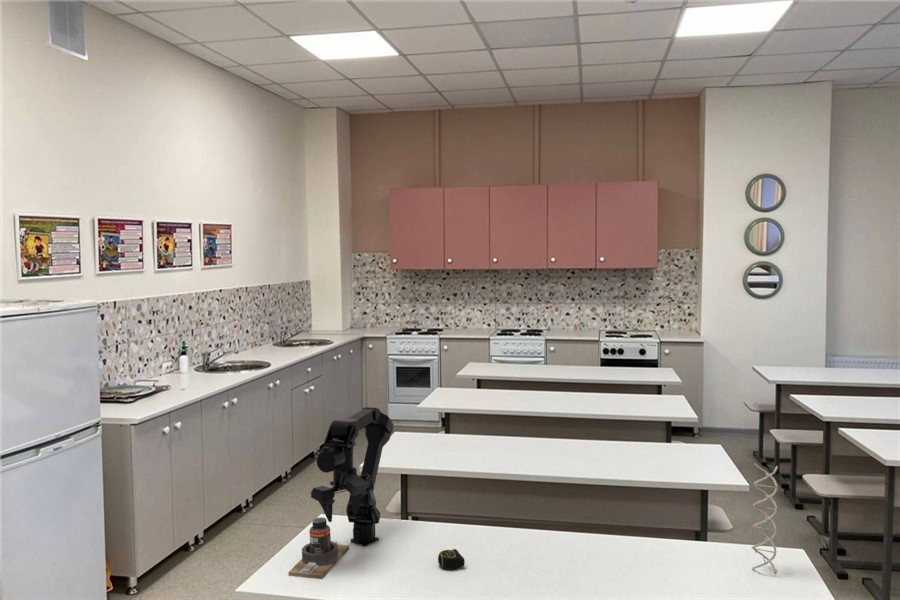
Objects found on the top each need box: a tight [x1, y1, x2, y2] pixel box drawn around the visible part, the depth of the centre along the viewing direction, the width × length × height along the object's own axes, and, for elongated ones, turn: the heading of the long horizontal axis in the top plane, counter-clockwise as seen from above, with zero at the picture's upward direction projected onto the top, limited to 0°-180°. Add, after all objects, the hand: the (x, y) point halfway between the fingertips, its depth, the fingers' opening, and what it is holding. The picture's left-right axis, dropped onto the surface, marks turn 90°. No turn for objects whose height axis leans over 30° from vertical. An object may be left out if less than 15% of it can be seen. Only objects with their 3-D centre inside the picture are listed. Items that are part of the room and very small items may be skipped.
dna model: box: [751, 462, 779, 574], centre depth 192 cm, size 7×6×30 cm
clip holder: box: [288, 540, 350, 580], centre depth 203 cm, size 20×10×4 cm, turn 167°
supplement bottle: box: [309, 516, 332, 554], centre depth 203 cm, size 6×6×11 cm
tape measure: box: [437, 548, 466, 570], centre depth 199 cm, size 7×7×4 cm
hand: (342, 518), depth 203 cm, fingers open, 9 cm apart
